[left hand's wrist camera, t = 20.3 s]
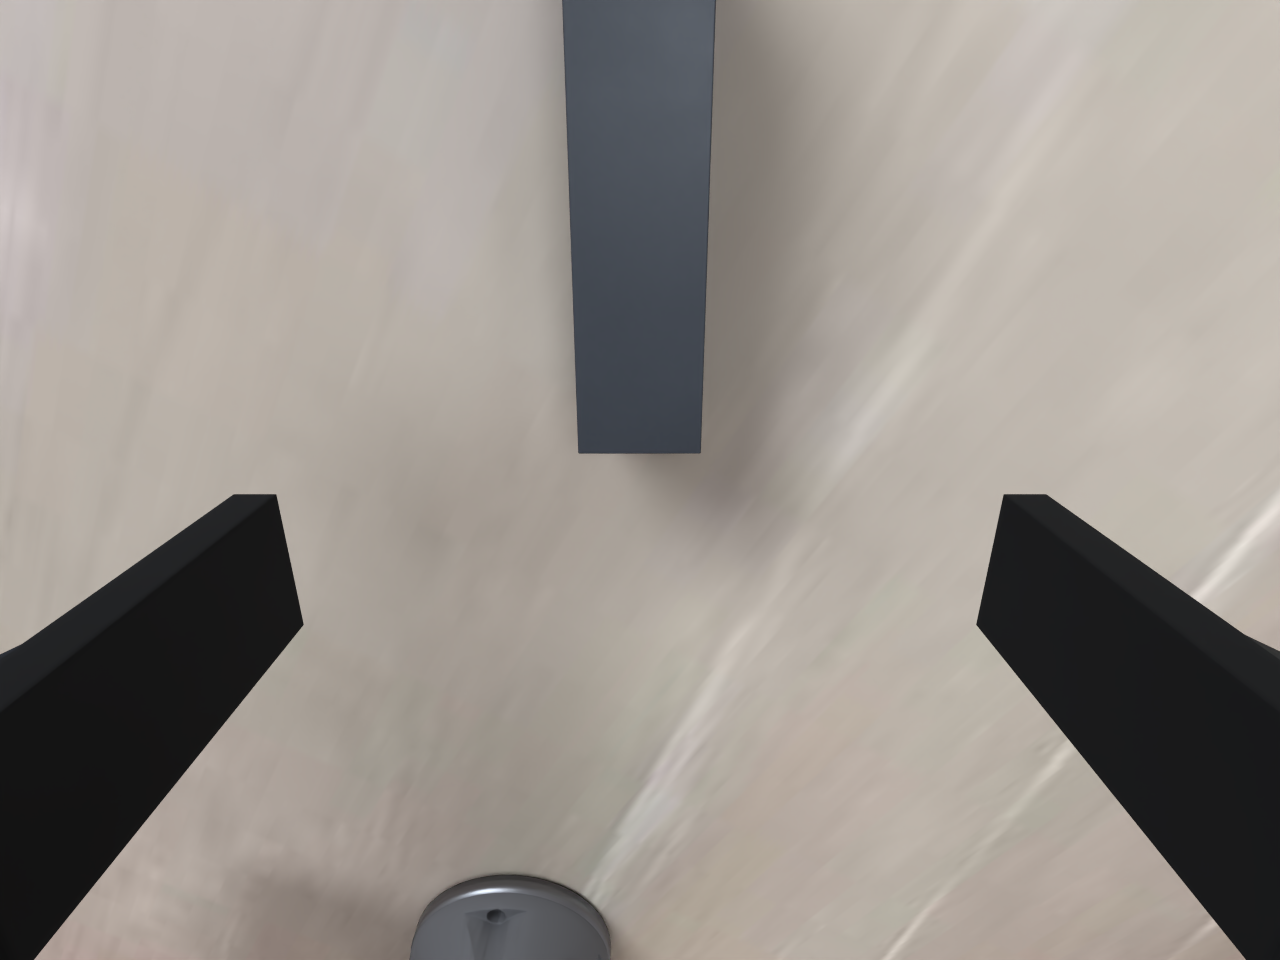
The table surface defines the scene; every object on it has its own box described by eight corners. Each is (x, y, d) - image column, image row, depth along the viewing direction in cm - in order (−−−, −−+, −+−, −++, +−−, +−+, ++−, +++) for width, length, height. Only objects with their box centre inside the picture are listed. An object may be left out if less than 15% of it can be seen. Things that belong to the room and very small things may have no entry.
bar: (688, 403, 38) (700, 453, 30) (591, 403, 38) (578, 453, 30) (701, -108, 30) (723, -221, 22) (577, -108, 30) (554, -221, 22)
